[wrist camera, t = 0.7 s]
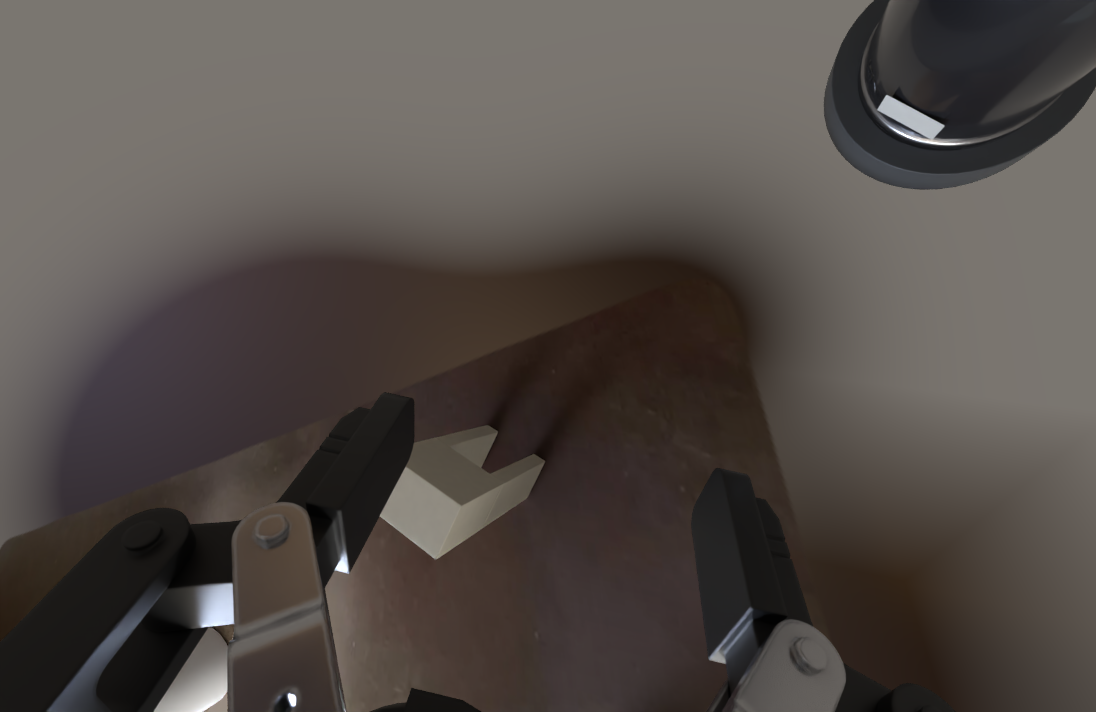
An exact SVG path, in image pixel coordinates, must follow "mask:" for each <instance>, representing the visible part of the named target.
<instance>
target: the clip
mask: <svg viewBox="0 0 1096 712" xmlns="http://www.w3.org/2000/svg"><path fill="white" fill-rule="evenodd" d="M497 434H498V431H497V430H495V429H493V428H492V427H490V426H489V425H485V426H481V427H477V428H473V429H469V430H465V431H461V432H457V433H453V434H449V435H445V436H441V437H436V438H432V439H428V440H424V441H420V442H415V443H414V445H413V449H412V453H411V456H410V459H409V461H408V463H407V465H406V467H405V469H404V471H403V473H402V474H401V476H400V478H399V480H398V482H397V484H396V486H395V488H394V490H393V492H392V493H391V495H390V497H389V499H388V501H387V503H386V505H385V507H384V509H383V511H382V512H381V514H380V517H382V518H383V519H384V520H386V521H387V522H388V523H389V524H391V525H392V526H393V527H395V528H396V529H397V530H398V531H400V532H401V533H402V534H404V535H405V536H406V537H408V538H409V539H410V540H411V541H413V542H414V543H415V544H417V545H418V546H419V547H420V548H422V549H423V550H424V551H426V552H427V553H428V554H429V555H431V556H432V557H433V558H435V559H438V558H439V557H441V556H442V555H444V554H445V553H447V552H448V551H450V550H451V549H453V548H454V547H456V546H457V545H459V544H460V543H461V542H463V541H464V540H466V539H467V538H469V537H470V536H472V535H473V534H475V533H476V532H478V531H479V530H481V529H482V528H483V527H485V526H486V525H488V524H489V523H491V522H492V521H494V520H495V519H497V518H498V517H500V516H501V515H503V514H504V513H506V512H507V511H509V510H510V509H512V508H513V507H515V506H516V505H518V504H519V503H521V502H522V501H524V500H525V499H527V498H528V496H529V494H530V491H531V489H532V487H533V485H534V483H535V481H536V479H537V477H538V475H539V473H540V471H541V469H542V467H543V465H544V463H545V461H544V460H543V459H541V458H540V457H538V456H536V455H535V454H532V455H530V456H528V457H526V458H524V459H522V460H519V461H517V462H515V463H513V464H511V465H509V466H506V467H504V468H502V469H500V470H498V471H495V472H493V473H491V474H489V473H488V472H486V471H485V470H483V469H482V468H481V467H482V465H483V463H484V461H485V459H486V457H487V455H488V452H489V450H490V448H491V446H492V444H493V442H494V440H495V438H496V436H497Z"/></svg>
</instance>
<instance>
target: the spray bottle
mask: <svg viewBox="0 0 1096 712" xmlns="http://www.w3.org/2000/svg"><path fill="white" fill-rule="evenodd" d="M227 651H228V646H227V643H226V642H225V640H224V639H223V638H222V636H221V635H220V634H219V633H218V632H217V631H216V630H215V629H213V628H211V627H208V629H207V631H206V632H205V634H204V635H203V637H202V638H201V640H200V641H199V643H198V644H197V646H196V647H195V649H194V650H193V652H192V653H191V655H190V657H189V658H188V660H187V661H186V663H185V664H184V666H183V667H182V669H181V670H180V672H179V673H178V675H177V676H176V678H175V679H174V681H173V683H172V684H171V686H170V687H169V689H168V690H167V692H166V693H165V695H164V696H163V698H162V699H161V701H160V702H159V704H158V706H157V707H156V709H155V710H154V712H203V711H204V710H206V709H207V708H209V707H210V706H212V705H214V704H215V703H217V702H218V701H220V700H221V699H222V698H223V697H224V695H225V694H226V692H227Z"/></svg>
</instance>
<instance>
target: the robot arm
mask: <svg viewBox="0 0 1096 712" xmlns="http://www.w3.org/2000/svg"><path fill="white" fill-rule="evenodd" d="M1095 67H1096V0H889V2H888V4H887V6H886V8H885V10H884V13H883V15H882V17H881V19H880V21H879V22H878V24H877V26H876V27H875V29H874V30H873V32H872V34H871V36H870V38H869V41H868V43H867V45H866V47H865V49H864V52H863V55H862V57H861V61H860V64H859V70H858V92H859V97H860V100H861V103H862V106H863V108H864V110H865V112H866V114H867V115H868V117H869V118H870V119H871V121H872V122H873V123H874V124H875V125H876V126H877V127H878V128H879V129H880V130H881V131H882V132H884V133H885V134H886V135H888V136H889V137H891V138H893V139H895V140H897V141H899V142H901V143H903V144H906V145H909V146H912V147H916V148H920V149H926V150H936V151H952V150H962V149H968V148H973V147H977V146H982V145H985V144H988V143H991V142H994V141H996V140H999V139H1001V138H1003V137H1005V136H1007V135H1009V134H1011V133H1013V132H1015V131H1017V130H1018V129H1020V128H1022V127H1023V126H1025V125H1026V124H1028V123H1029V122H1030V121H1032V120H1033V119H1034V118H1036V117H1037V116H1038V115H1039V114H1041V113H1042V112H1043V111H1044V110H1046V109H1047V108H1048V107H1049V106H1050V105H1052V104H1053V103H1054V102H1055V101H1056V100H1057V99H1058V98H1059V97H1060V96H1061V95H1062V93H1063V92H1065V91H1066V90H1067V89H1068V88H1070V87H1071V86H1072V85H1073V84H1075V83H1076V82H1077V81H1078V80H1080V79H1081V78H1082V77H1084V76H1085V75H1087V74H1088V73H1089V72H1090V71H1092V70H1093V69H1094V68H1095ZM413 445H414V400H413V399H412V398H408V397H404V396H400V395H395V394H391V393H386V392H385V393H383V394H382V395H381V396H380V397H379V398H378V400H377V401H376V403H375V404H374V406H373V407H372V408H371V410H370V409H365V408H361V407H358V408H357V409H355V410H354V411H352V412H351V413H349V414H348V415H346V416H344V417H343V418H341V420H340V421H339V422H338V423H337V425H336V426H335V427H334V429H333V430H332V431H331V433H330V434H329V437H327V438H326V439H325V440H324V442H323V443H322V444H321V446H320V449H319V450H317V451H316V452H315V453H314V455H313V456H312V457H311V459H310V460H309V461H308V463H307V464H306V465H305V467H304V468H303V469H302V470H301V472H300V473H299V474H298V476H297V477H296V478H295V480H294V481H293V482H292V483H291V485H290V486H289V487H288V489H287V490H286V491H285V493H284V494H283V495H282V496H281V498H280V499H279V500H278V501H277V502H276V503H273V504H269V505H266V506H263V507H261V508H258V509H256V510H255V511H253V512H251V513H250V514H249V515H247V516H246V517H245V518H244V519H243V520H239V521H232V522H219V523H204V524H190V523H189V521H188V519H187V517H186V516H185V515H184V514H183V513H182V512H180V511H178V510H175V509H171V508H156V509H150V510H147V511H143V512H140V513H137V514H135V515H133V516H131V517H128V518H127V519H125V520H123V521H122V522H120V523H119V524H117V525H116V526H114V527H113V528H112V529H111V530H110V531H109V532H108V533H107V534H106V535H105V536H104V537H103V538H102V539H101V540H100V541H99V542H98V543H97V544H96V545H95V546H94V547H93V548H92V549H91V550H90V551H89V552H88V553H87V554H86V555H85V556H84V557H83V558H82V559H81V560H80V561H79V562H78V563H77V564H76V565H75V566H74V567H73V568H72V569H71V570H70V571H69V572H68V573H67V574H66V575H65V576H64V577H63V579H62V580H61V581H60V582H59V583H58V584H57V585H56V586H55V587H54V588H53V589H52V590H51V591H50V592H49V593H48V594H47V595H46V596H45V597H44V598H43V599H42V600H41V601H40V602H39V603H38V604H37V605H36V606H35V607H34V608H33V609H32V610H31V611H30V612H29V613H28V614H27V615H26V616H25V617H24V618H23V619H22V620H21V621H20V622H19V623H18V624H17V625H16V626H15V627H14V628H13V629H12V630H11V631H10V633H9V634H8V635H7V636H6V637H5V638H4V639H3V640H2V641H1V642H0V712H154V710H155V709H156V707H157V706H158V704H159V702H160V701H161V699H162V698H163V696H164V695H165V693H166V692H167V690H168V689H169V687H170V686H171V684H172V683H173V681H174V679H175V678H176V676H177V675H178V673H179V672H180V670H181V669H182V667H183V666H184V664H185V663H186V661H187V660H188V658H189V657H190V655H191V653H192V652H193V650H194V649H195V647H196V646H197V644H198V643H199V641H200V640H201V638H202V637H203V635H204V634H205V632H206V631H207V629H208V627H212V626H220V625H229V624H234V637H233V640H232V641H230V642H229V645H228V651H227V691H228V712H347V711H346V705H345V700H344V694H343V689H342V683H341V678H340V673H339V667H338V662H337V656H336V650H335V645H334V639H333V633H332V627H331V622H330V616H329V610H328V604H327V599H326V593H325V586H326V585H327V583H328V581H329V579H330V578H331V576H332V574H333V572H334V570H336V571H340V572H345V573H350V571H351V569H352V567H353V566H354V564H355V562H356V560H357V558H358V556H359V554H360V552H361V550H362V548H363V547H364V545H365V543H366V541H367V539H368V537H369V535H370V533H371V531H372V530H373V528H374V526H375V524H376V522H377V520H378V518H379V516H380V514H381V512H382V511H383V509H384V507H385V505H386V503H387V501H388V499H389V497H390V495H391V493H392V492H393V490H394V488H395V486H396V484H397V482H398V480H399V478H400V476H401V474H402V473H403V471H404V469H405V467H406V465H407V463H408V461H409V459H410V456H411V453H412V449H413ZM691 525H692V535H693V543H694V550H695V558H696V566H697V574H698V581H699V589H700V597H701V605H702V612H703V620H704V628H705V636H706V643H707V651H708V659H709V660H712V661H716V662H720V663H725V664H726V668H727V674H728V678H727V680H726V681H725V682H724V683H723V685H722V687H721V688H720V690H719V692H718V693H717V695H716V696H715V698H714V700H713V701H712V703H711V705H710V706H709V708H708V709H707V711H706V712H955V711H954V710H953V709H952V707H951V706H949V705H948V704H947V703H946V702H945V701H944V700H943V699H942V698H940V697H939V696H938V695H936V694H935V693H933V692H932V691H930V690H928V689H926V688H924V687H922V686H919V685H916V684H911V683H910V684H909V683H906V684H902V685H900V686H898V687H897V688H895V689H894V690H892V691H891V690H890V689H888V688H886V687H884V686H882V685H881V684H878V683H877V682H875V681H873V680H871V679H870V678H868V677H866V676H865V675H863V674H861V673H859V672H857V671H856V670H854V669H852V668H850V667H849V666H847V665H846V664H844V663H843V662H842V660H841V658H840V656H839V654H838V652H837V650H836V649H835V647H834V646H833V645H832V643H831V642H830V641H829V640H828V639H827V638H826V637H825V636H824V635H823V634H822V633H821V632H820V631H818V630H817V629H816V628H814V627H813V625H812V622H811V619H810V616H809V613H808V610H807V607H806V603H805V600H804V597H803V594H802V591H801V588H800V584H799V581H798V578H797V575H796V572H795V569H794V565H793V562H792V559H790V553H789V549H788V546H787V543H785V537H784V534H783V530H782V527H781V524H780V521H779V518H778V517H777V516H776V514H775V513H774V511H773V510H772V509H771V507H770V506H769V504H768V503H767V501H766V500H764V499H760V498H755V495H754V491H753V487H752V484H751V480H750V478H749V476H748V475H746V474H743V473H738V472H734V471H729V470H725V469H720V468H716V469H715V470H714V471H713V472H712V474H711V476H710V478H709V480H708V482H707V483H706V485H705V487H704V489H703V491H702V493H701V494H700V496H699V498H698V500H697V502H696V504H695V506H694V509H693V513H692V523H691ZM370 712H481V711H479V710H478V709H476V708H474V707H473V706H471V705H469V704H468V703H466V702H465V701H463V700H460V699H455V698H451V697H447V696H443V695H439V694H435V693H430V692H426V691H422V690H418V689H414V688H411V691H410V694H409V697H408V700H407V702H406V703H397V704H392V705H388V706H384V707H381V708H378V709H376V710H373V711H370Z"/></svg>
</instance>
